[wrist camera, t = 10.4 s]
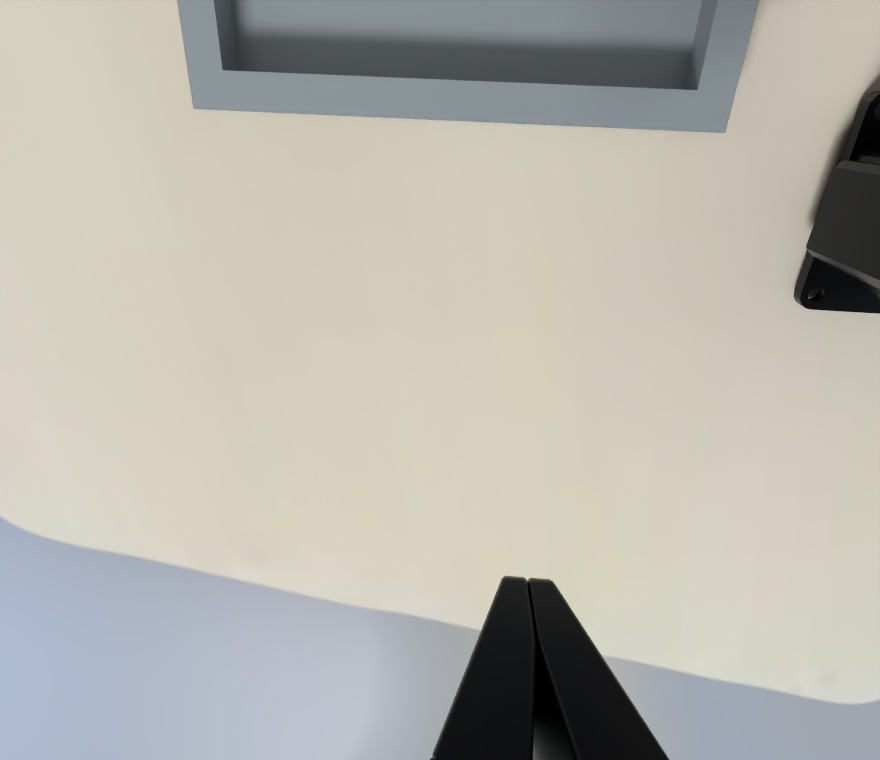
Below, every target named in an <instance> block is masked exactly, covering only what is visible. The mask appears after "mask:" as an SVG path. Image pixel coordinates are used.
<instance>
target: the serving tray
mask: <svg viewBox="0 0 880 760" xmlns="http://www.w3.org/2000/svg"><path fill="white" fill-rule="evenodd" d="M758 2H759V0H177V3H178V10H179V16H180V23H181V29H182V36H183V43H184V49H185V56H186V62H187V69H188V76H189V82H190V89H191V95H192V102H193V109H207V110H229V111H251V112H273V113H296V114H318V115H340V116H362V117H384V118H406V119H428V120H451V121H473V122H495V123H517V124H539V125H561V126H583V127H605V128H628V129H650V130H672V131H694V132H716V133H725V131H726V127H727V123H728V119H729V116H730V112H731V108H732V104H733V100H734V96H735V92H736V88H737V84H738V80H739V76H740V72H741V69H742V65H743V61H744V57H745V53H746V49H747V45H748V41H749V37H750V33H751V29H752V25H753V21H754V18H755V14H756V10H757V6H758Z"/></svg>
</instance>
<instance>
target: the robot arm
mask: <svg viewBox="0 0 880 760" xmlns="http://www.w3.org/2000/svg"><path fill="white" fill-rule="evenodd" d="M879 104H880V91H876V92H874V93H872V94H870V95H869V96H867V97H866V98H865V99H864V100H863V101H862V103H861V105H860V107H859V109H858V111H857V114H856V117H855V120H854V123H853V126H852V128H851V131H850V134H849V137H848V140H847V143H846V146H845V148H844V151H843V154H842V157H841V160H840V163H839V164H838V165H837V166H836V167H835V168H834V169H833V171H832V174H831V177H830V180H829V183H828V186H827V188H826V191H825V194H824V197H823V200H822V203H821V206H820V209H819V211H818V214H817V217H816V220H815V223H814V226H813V229H812V231H811V234H810V237H809V240H808V243H807V250H808V254H807V256H806V259H805V262H804V265H803V268H802V271H801V274H800V276H799V279H798V282H797V285H796V288H795V291H794V298H795V301H796V302H797V303H799V304H800V305H801V306H803V307H805V308H807V309H813V310H830V311H847V312H864V313H880V117H879V118H877V117H876V115H875V111H876V108H877V107H878V105H879ZM814 288H818V292H817V293H816V295H815V296H814V297H812V298H809V299H808V294H809V293H810V291H811V290H813V289H814ZM430 760H669V758H668V757H667V755H666V753H665V752H664V750H663V749H662V747H661V746H660V744H659V743H658V741H657V740H656V738H655V737H654V735H653V734H652V732H651V731H650V729H649V728H648V726H647V724H646V723H645V721H644V720H643V718H642V717H641V715H640V714H639V712H638V711H637V709H636V708H635V706H634V704H633V703H632V701H631V700H630V698H629V697H628V696H627V694H626V692H625V691H624V689H623V688H622V686H621V685H620V683H619V682H618V680H617V678H616V677H615V675H614V674H613V672H612V671H611V670H610V668H609V666H608V665H607V663H606V662H605V660H604V659H603V657H602V655H601V654H600V652H599V651H598V649H597V648H596V646H595V645H594V643H593V642H592V640H591V639H590V637H589V636H588V634H587V632H586V631H585V629H584V628H583V626H582V625H581V623H580V622H579V620H578V619H577V617H576V616H575V614H574V613H573V611H572V610H571V608H570V606H569V605H568V603H567V602H566V600H565V599H564V597H563V596H562V594H561V593H560V591H559V590H558V588H557V587H556V585H555V584H554V582H553V581H551V580H549V579H539V578H530V579H528V581H527V580H526V579H525V578H524V577H514V576H504V577H503V578H502V580H501V582H500V585H499V587H498V590H497V592H496V595H495V597H494V600H493V602H492V605H491V607H490V610H489V612H488V615H487V617H486V620H485V622H484V625H483V628H482V630H481V633H480V635H479V638H478V640H477V643H476V645H475V648H474V650H473V653H472V655H471V658H470V660H469V663H468V666H467V668H466V671H465V673H464V676H463V678H462V681H461V683H460V686H459V688H458V691H457V693H456V696H455V698H454V701H453V703H452V706H451V708H450V711H449V713H448V716H447V718H446V721H445V724H444V726H443V729H442V731H441V734H440V736H439V739H438V741H437V744H436V746H435V749H434V751H433V757H432V758H431V759H430Z"/></svg>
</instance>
